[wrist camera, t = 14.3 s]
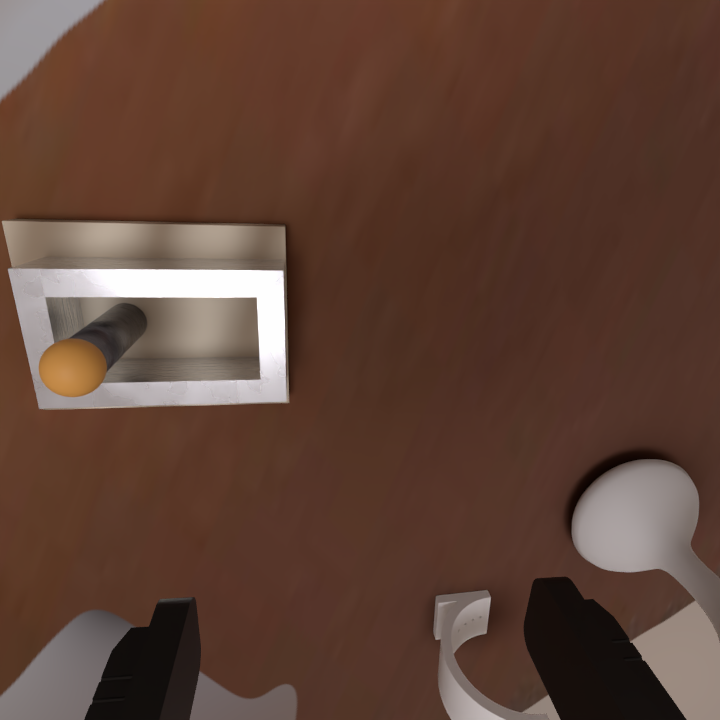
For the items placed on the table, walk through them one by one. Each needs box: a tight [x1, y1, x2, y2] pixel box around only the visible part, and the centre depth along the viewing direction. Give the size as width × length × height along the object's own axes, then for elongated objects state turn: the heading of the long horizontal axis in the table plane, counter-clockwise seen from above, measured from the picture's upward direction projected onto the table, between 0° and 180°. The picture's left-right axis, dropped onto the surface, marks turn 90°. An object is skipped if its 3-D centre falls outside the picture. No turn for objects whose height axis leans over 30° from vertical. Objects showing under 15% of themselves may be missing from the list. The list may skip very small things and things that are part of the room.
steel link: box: [8, 257, 287, 409], centre depth 29 cm, size 14×8×4 cm, turn 88°
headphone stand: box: [433, 590, 549, 720], centre depth 40 cm, size 5×6×12 cm
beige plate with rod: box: [2, 219, 289, 410], centre depth 27 cm, size 16×12×11 cm
